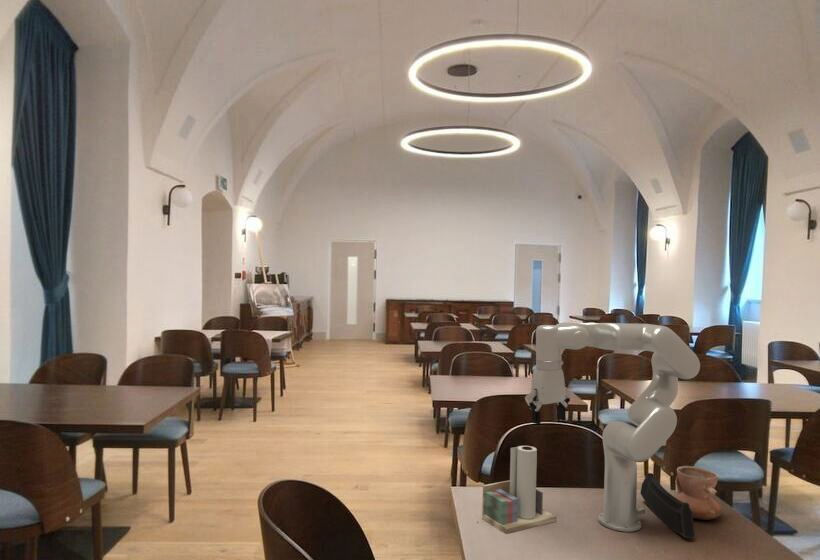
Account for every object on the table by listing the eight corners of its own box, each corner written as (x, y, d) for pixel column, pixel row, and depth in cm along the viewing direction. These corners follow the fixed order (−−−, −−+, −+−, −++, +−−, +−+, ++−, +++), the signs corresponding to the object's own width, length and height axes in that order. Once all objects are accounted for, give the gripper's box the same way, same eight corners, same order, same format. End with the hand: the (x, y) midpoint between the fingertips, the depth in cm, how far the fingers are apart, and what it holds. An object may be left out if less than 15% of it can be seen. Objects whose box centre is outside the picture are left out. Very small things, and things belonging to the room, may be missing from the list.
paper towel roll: (538, 515, 177) (540, 447, 177) (529, 521, 172) (531, 451, 172) (518, 509, 181) (520, 443, 181) (509, 514, 177) (510, 447, 177)
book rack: (482, 518, 177) (482, 485, 177) (530, 507, 187) (531, 475, 187) (506, 533, 166) (507, 498, 166) (556, 521, 176) (557, 487, 176)
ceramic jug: (734, 525, 176) (735, 480, 177) (692, 526, 174) (692, 480, 175) (697, 503, 194) (698, 462, 194) (659, 504, 192) (659, 463, 193)
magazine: (700, 515, 162) (655, 454, 190) (689, 515, 161) (646, 454, 190) (690, 563, 166) (648, 496, 195) (679, 563, 166) (639, 496, 195)
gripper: (562, 362, 178) (562, 415, 178) (518, 366, 170) (518, 422, 170) (579, 365, 171) (579, 421, 171) (533, 369, 163) (534, 428, 164)
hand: (548, 421), depth 171 cm, fingers open, 9 cm apart
